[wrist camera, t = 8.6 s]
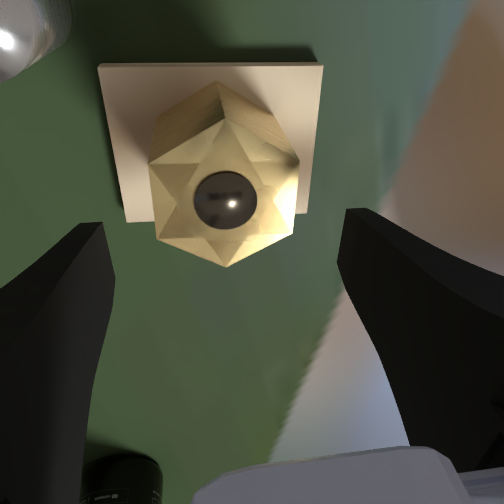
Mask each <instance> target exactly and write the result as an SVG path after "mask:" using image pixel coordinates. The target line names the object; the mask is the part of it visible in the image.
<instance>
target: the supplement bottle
mask: <svg viewBox="0 0 504 504" xmlns="http://www.w3.org/2000/svg"><path fill="white" fill-rule="evenodd" d="M162 489H163V474H162V471H161V469H160V468H159V466H158V465H157V464H155V463H154V462H153V461H151V460H149V459H146V458H143V457H138V456H131V455H119V456H111V457H107V458H103V459H100V460H98V461H96V462H94V463H92V464H91V465H90V466H88V467H87V468H86V469H85V471H84V472H83V474H82V476H81V486H80V496H79V504H162V491H163V490H162Z"/></svg>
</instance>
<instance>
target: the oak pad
mask: <svg viewBox="0 0 504 504" xmlns="http://www.w3.org/2000/svg"><path fill="white" fill-rule="evenodd" d="M97 68H98V74H99V79H100V84H101V89H102V95H103V100H104V105H105V110H106V115H107V121H108V126H109V131H110V136H111V142H112V147H113V152H114V157H115V163H116V168H117V173H118V178H119V184H120V189H121V194H122V199H123V205H124V210H125V215H126V220H127V222H145V221H155V220H154V212H153V204H152V196H151V188H150V180H149V172H148V159H149V154H150V149H151V144H152V139H153V134H154V129H155V124H156V118H157V116H158V115H160V114H161V113H163V112H165V111H166V110H168V109H169V108H171V107H173V106H174V105H176V104H178V103H179V102H181V101H183V100H184V99H186V98H187V97H189V96H191V95H192V94H194V93H196V92H197V91H199V90H200V89H202V88H204V87H205V86H207V85H209V84H210V83H212V82H213V81H215V80H217V81H218V82H220V83H222V84H223V85H225V86H227V87H228V88H230V89H232V90H233V91H235V92H236V93H238V94H240V95H241V96H243V97H245V98H246V99H248V100H250V101H251V102H253V103H254V104H256V105H258V106H259V107H261V108H263V109H264V110H266V111H268V112H269V113H271V114H272V115H274V116H275V118H276V120H277V122H278V123H279V125H280V127H281V128H282V130H283V132H284V134H285V135H286V137H287V139H288V141H289V142H290V144H291V146H292V148H293V149H294V151H295V153H296V155H297V156H298V158H299V160H300V167H299V176H298V185H297V194H296V203H295V213H294V214H301V213H307V206H308V197H309V188H310V180H311V171H312V162H313V153H314V144H315V135H316V126H317V117H318V109H319V100H320V91H321V82H322V73H323V65H322V64H320V63H319V62H228V63H101V64H100V65H99V66H98V67H97Z"/></svg>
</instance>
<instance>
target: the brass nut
mask: <svg viewBox="0 0 504 504" xmlns="http://www.w3.org/2000/svg"><path fill="white" fill-rule="evenodd" d="M299 167H300V160H299V158H298V156H297V155H296V153H295V151H294V149H293V148H292V146H291V144H290V142H289V141H288V139H287V137H286V135H285V134H284V132H283V130H282V128H281V127H280V125H279V123H278V122H277V120H276V118H275V116H274V115H272V114H271V113H269V112H268V111H266V110H264V109H263V108H261V107H259V106H258V105H256V104H254V103H253V102H251V101H250V100H248V99H246V98H245V97H243V96H241V95H240V94H238V93H236V92H235V91H233V90H232V89H230V88H228V87H227V86H225V85H223V84H222V83H220V82H218V81H217V80H215V81H213V82H212V83H210V84H209V85H207V86H205V87H204V88H202V89H200V90H199V91H197V92H196V93H194V94H192V95H191V96H189V97H187V98H186V99H184V100H183V101H181V102H179V103H178V104H176V105H174V106H173V107H171V108H169V109H168V110H166V111H165V112H163V113H161V114H160V115H158V116H157V118H156V124H155V129H154V134H153V139H152V144H151V149H150V154H149V159H148V172H149V180H150V188H151V196H152V204H153V212H154V220H155V227H156V235H157V239H158V240H160V241H163V242H165V243H167V244H170V245H172V246H175V247H177V248H180V249H182V250H185V251H187V252H190V253H192V254H195V255H197V256H200V257H202V258H205V259H207V260H210V261H212V262H215V263H217V264H220V265H222V266H225V267H227V266H229V265H231V264H233V263H235V262H237V261H239V260H241V259H243V258H245V257H247V256H249V255H251V254H253V253H255V252H257V251H259V250H261V249H263V248H265V247H266V246H268V245H270V244H272V243H274V242H276V241H278V240H280V239H282V238H284V237H286V236H288V235H290V234H292V231H293V222H294V213H295V203H296V194H297V185H298V176H299Z"/></svg>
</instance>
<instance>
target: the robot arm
mask: <svg viewBox="0 0 504 504" xmlns="http://www.w3.org/2000/svg"><path fill="white" fill-rule="evenodd" d="M337 265H338V268H339V271H340V274H341V277H342V280H343V283H344V286H345V289H346V291H347V293H348V295H349V297H350V299H351V301H352V303H353V305H354V307H355V309H356V311H357V313H358V315H359V317H360V319H361V321H362V323H363V325H364V327H365V329H366V331H367V332H368V334H369V336H370V338H371V340H372V342H373V344H374V346H375V348H376V351H377V353H378V355H379V357H380V360H381V362H382V365H383V368H384V370H385V373H386V376H387V378H388V381H389V383H390V386H391V389H392V392H393V395H394V398H395V400H396V403H397V406H398V409H399V412H400V415H401V418H402V421H403V425H404V428H405V431H406V434H407V437H408V441H409V444H410V446H396V447H388V448H381V449H373V450H366V451H358V452H351V453H343V454H335V455H327V456H320V457H312V458H304V459H297V460H289V461H281V462H274V463H266V464H258V465H252V466H249V467H245V468H241V469H237V470H234V471H230V472H226V473H223V474H221V475H219V476H218V477H216V478H215V479H213V480H212V481H210V482H208V483H207V484H205V485H204V486H202V487H201V488H200V489H199V490H198V491H197V492H196V493H195V494H194V497H193V499H192V502H191V504H504V276H502V275H499V274H496V273H493V272H491V271H488V270H486V269H483V268H481V267H478V266H476V265H474V264H471V263H469V262H467V261H464V260H462V259H460V258H458V257H455V256H453V255H451V254H449V253H447V252H445V251H443V250H441V249H439V248H437V247H435V246H433V245H432V244H430V243H428V242H426V241H424V240H422V239H420V238H419V237H417V236H415V235H413V234H412V233H410V232H408V231H407V230H405V229H403V228H401V227H400V226H398V225H396V224H395V223H393V222H391V221H389V220H388V219H386V218H384V217H383V216H381V215H379V214H377V213H375V212H373V211H371V210H369V209H367V208H353V209H346V214H345V219H344V225H343V230H342V236H341V242H340V247H339V253H338V259H337ZM114 288H115V274H114V270H113V266H112V261H111V257H110V253H109V248H108V244H107V240H106V235H105V231H104V227H103V223H102V222H92V223H80V224H78V225H77V226H76V227H75V228H73V229H72V230H71V231H70V232H69V233H68V234H67V235H65V236H64V237H63V238H62V239H61V240H60V241H59V242H58V243H56V244H55V245H54V246H53V247H52V248H51V249H50V250H48V251H47V252H46V253H45V254H44V255H43V256H42V257H40V258H39V259H38V260H37V261H36V262H34V263H33V264H32V265H31V266H29V267H28V268H27V269H26V270H24V271H23V272H22V273H20V274H19V275H18V276H17V277H15V278H14V279H13V280H12V281H10V282H9V283H8V284H6V285H5V286H3V287H2V288H1V289H0V504H79V496H80V486H81V476H82V466H83V456H84V448H85V439H86V431H87V423H88V415H89V408H90V401H91V394H92V387H93V383H94V378H95V373H96V369H97V365H98V361H99V358H100V354H101V350H102V346H103V342H104V338H105V335H106V331H107V327H108V323H109V319H110V315H111V311H112V306H113V297H114Z"/></svg>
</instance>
